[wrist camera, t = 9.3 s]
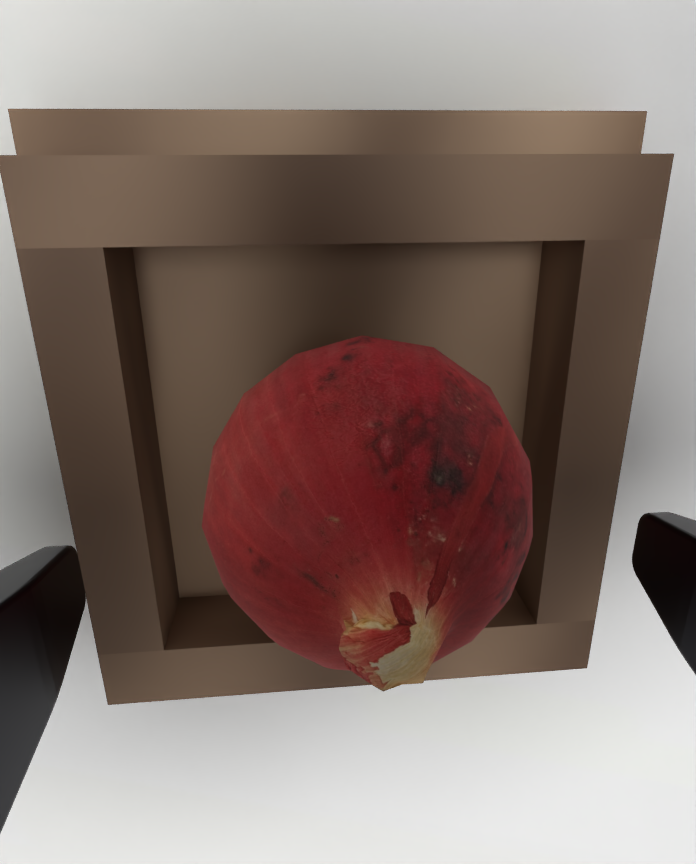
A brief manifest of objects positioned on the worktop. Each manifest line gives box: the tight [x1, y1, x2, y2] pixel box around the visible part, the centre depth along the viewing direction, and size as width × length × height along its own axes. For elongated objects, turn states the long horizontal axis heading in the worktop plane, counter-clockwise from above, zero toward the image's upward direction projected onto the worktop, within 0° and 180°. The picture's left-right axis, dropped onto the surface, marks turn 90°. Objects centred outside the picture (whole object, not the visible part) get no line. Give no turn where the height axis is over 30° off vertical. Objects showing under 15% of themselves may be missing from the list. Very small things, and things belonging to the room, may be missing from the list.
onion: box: [202, 336, 533, 691], centre depth 10 cm, size 6×6×8 cm
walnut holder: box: [0, 109, 674, 705], centre depth 14 cm, size 13×14×3 cm
